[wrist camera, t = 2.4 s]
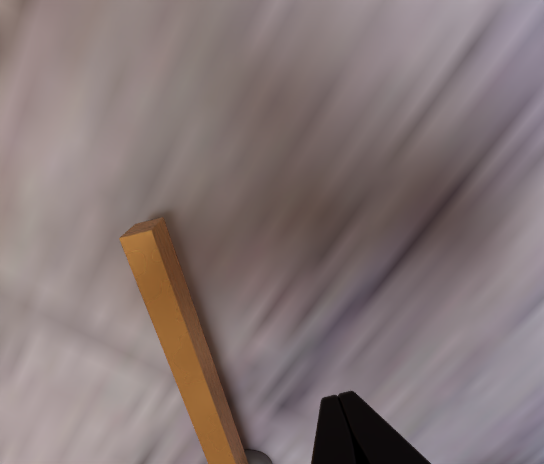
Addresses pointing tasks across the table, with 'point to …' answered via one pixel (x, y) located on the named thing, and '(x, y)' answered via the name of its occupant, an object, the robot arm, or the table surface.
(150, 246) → the orange bar
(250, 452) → the frame
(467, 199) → the table surface
